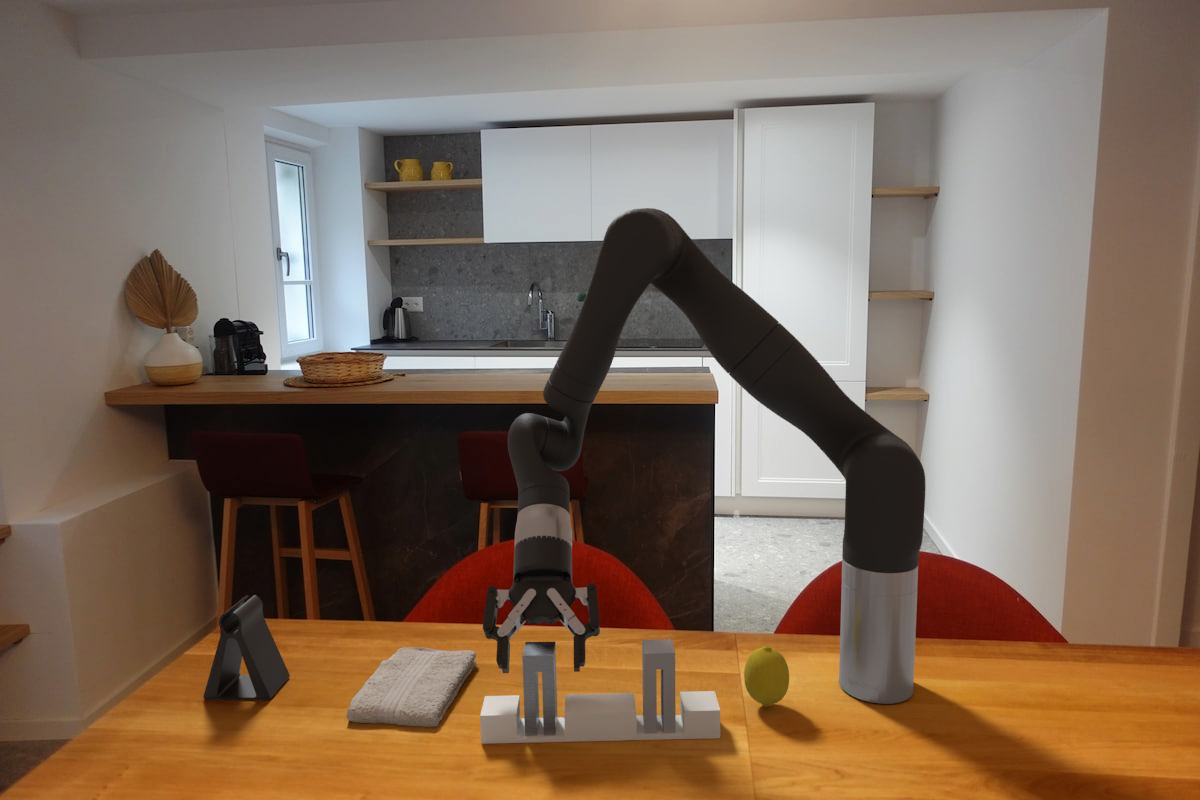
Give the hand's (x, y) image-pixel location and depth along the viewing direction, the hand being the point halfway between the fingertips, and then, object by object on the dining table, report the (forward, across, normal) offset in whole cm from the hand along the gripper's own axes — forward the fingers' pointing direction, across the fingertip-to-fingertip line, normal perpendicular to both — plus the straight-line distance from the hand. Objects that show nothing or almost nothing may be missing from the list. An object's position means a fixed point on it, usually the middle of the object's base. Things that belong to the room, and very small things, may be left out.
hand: (541, 670), depth 96 cm
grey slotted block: (+5, 0, +5) cm, 7 cm away
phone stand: (-3, -40, +14) cm, 43 cm away
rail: (+6, +7, +5) cm, 10 cm away
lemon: (+3, +28, +8) cm, 29 cm away
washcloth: (-2, -17, +13) cm, 22 cm away
